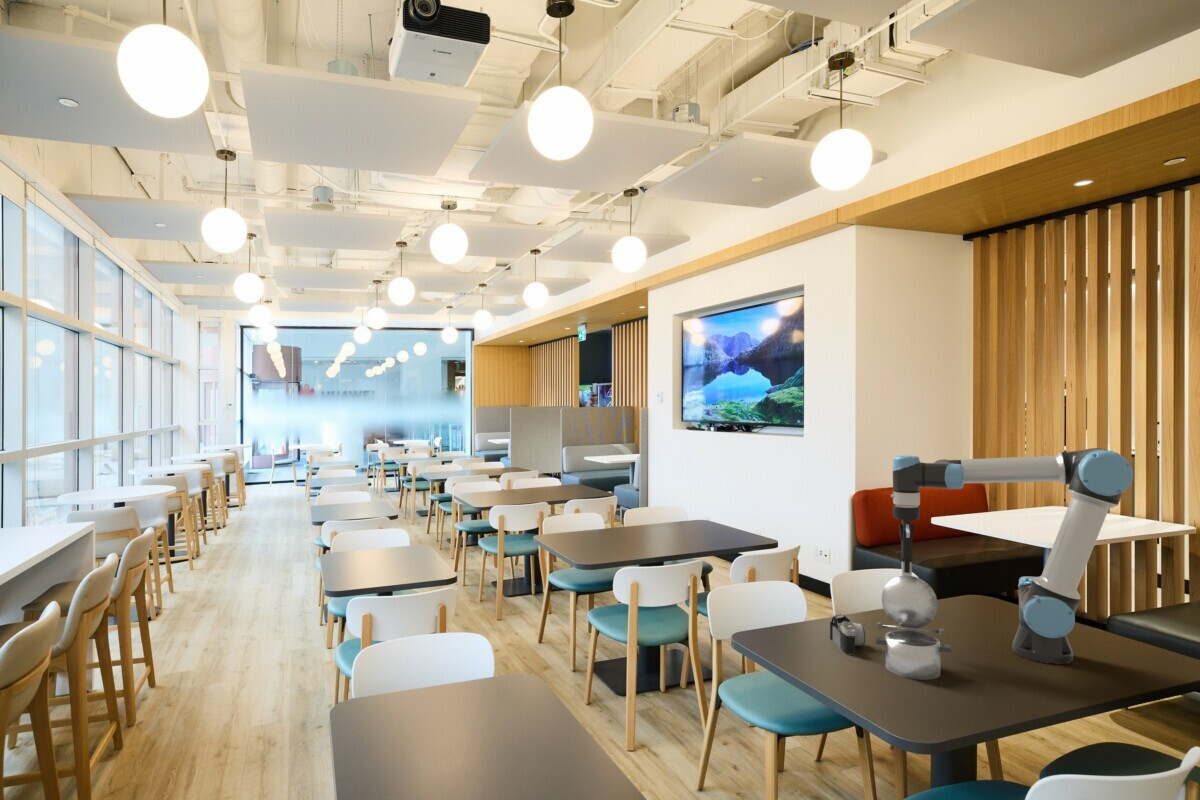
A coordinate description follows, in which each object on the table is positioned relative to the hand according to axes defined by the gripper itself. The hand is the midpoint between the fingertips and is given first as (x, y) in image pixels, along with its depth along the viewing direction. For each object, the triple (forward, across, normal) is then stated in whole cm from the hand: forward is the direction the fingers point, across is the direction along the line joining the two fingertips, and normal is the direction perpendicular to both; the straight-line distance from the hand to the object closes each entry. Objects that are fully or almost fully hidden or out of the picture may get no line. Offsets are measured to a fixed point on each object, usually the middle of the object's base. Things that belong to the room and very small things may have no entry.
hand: (906, 582), depth 206 cm
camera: (+21, +5, -17) cm, 27 cm away
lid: (+11, +11, 0) cm, 15 cm away
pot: (+20, +19, 0) cm, 28 cm away
